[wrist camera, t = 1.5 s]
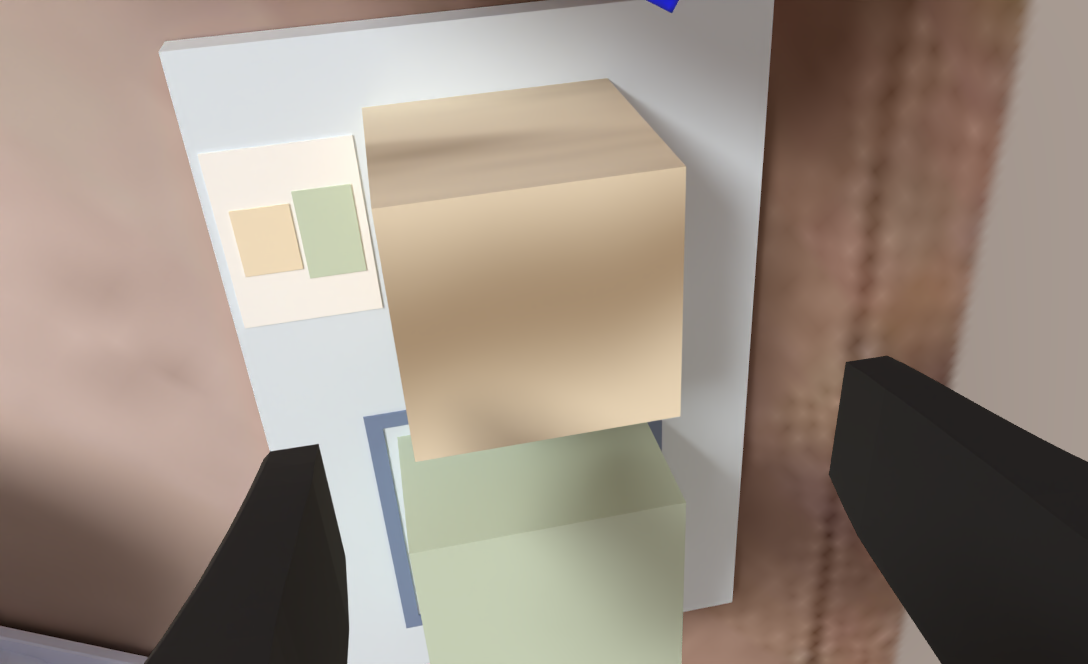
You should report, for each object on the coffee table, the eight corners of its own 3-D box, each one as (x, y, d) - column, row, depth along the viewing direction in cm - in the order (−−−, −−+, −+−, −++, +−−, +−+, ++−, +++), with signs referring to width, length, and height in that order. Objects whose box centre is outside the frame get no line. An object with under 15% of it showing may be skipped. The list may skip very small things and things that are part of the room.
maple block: (612, 290, 22) (680, 416, 17) (398, 323, 21) (415, 462, 17) (607, 78, 19) (686, 166, 15) (361, 107, 18) (371, 209, 14)
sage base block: (636, 565, 27) (681, 681, 23) (428, 606, 26) (443, 732, 22) (634, 397, 23) (686, 502, 20) (397, 437, 23) (409, 553, 19)
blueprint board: (722, 582, 29) (733, 604, 28) (334, 660, 27) (334, 685, 26) (759, -23, 19) (777, -15, 19) (164, 41, 18) (157, 53, 17)
